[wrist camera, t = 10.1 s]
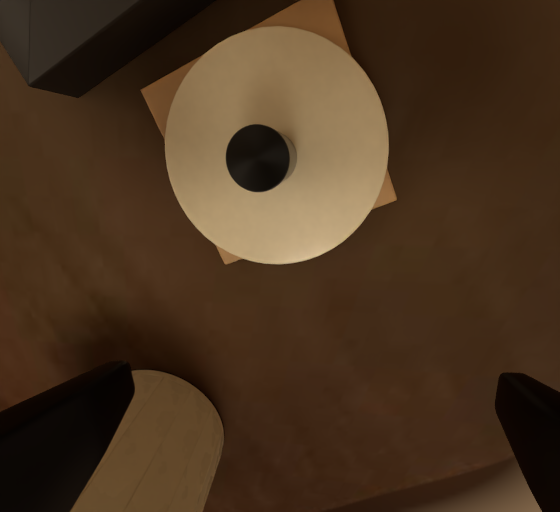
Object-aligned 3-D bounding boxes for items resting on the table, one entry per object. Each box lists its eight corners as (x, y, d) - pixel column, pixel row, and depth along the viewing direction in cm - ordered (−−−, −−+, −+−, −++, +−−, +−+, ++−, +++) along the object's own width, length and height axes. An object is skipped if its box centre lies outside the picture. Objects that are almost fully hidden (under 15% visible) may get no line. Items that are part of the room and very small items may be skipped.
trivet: (395, 198, 17) (397, 200, 16) (227, 262, 19) (224, 265, 18) (328, -10, 14) (328, -17, 14) (145, 91, 16) (139, 89, 16)
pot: (245, 409, 22) (184, 618, 12) (196, 494, 25) (115, 714, 15) (115, 346, 22) (-57, 507, 12) (82, 440, 25) (-75, 629, 15)
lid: (430, 100, 14) (480, 76, 10) (319, 290, 18) (318, 336, 13) (218, -11, 14) (170, -89, 10) (147, 204, 18) (87, 222, 13)
